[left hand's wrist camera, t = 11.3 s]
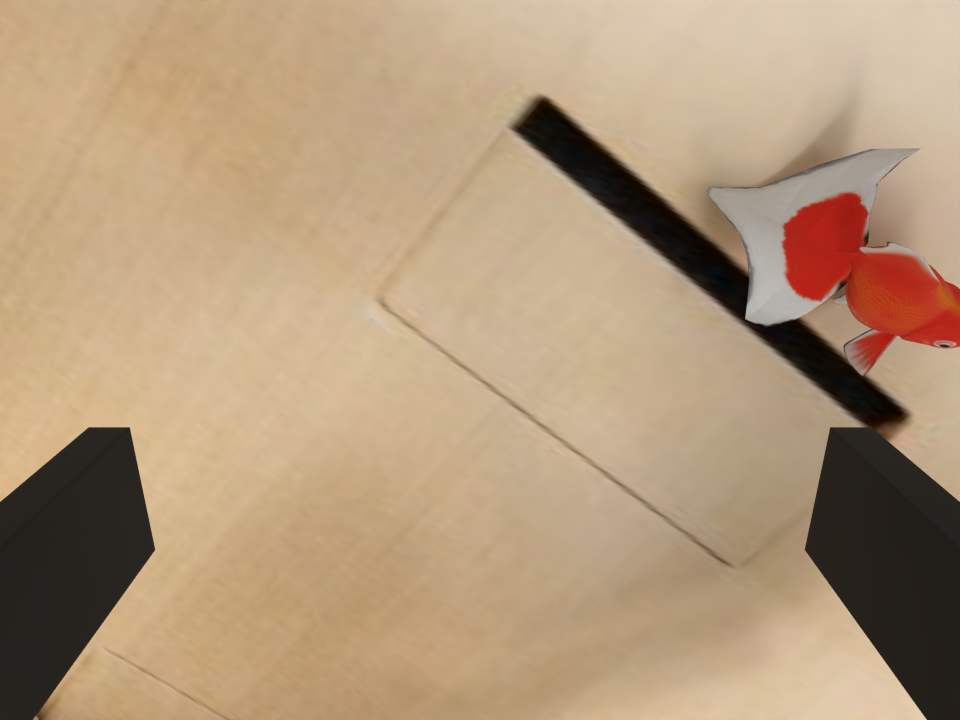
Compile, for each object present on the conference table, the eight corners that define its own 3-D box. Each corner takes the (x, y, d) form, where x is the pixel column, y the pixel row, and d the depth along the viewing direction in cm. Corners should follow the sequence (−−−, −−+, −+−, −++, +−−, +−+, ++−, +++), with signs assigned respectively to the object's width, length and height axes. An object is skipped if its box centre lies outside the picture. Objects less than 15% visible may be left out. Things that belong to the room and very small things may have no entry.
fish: (832, 447, 40) (934, 433, 30) (643, 262, 43) (680, 193, 33) (957, 327, 41) (1096, 275, 31) (764, 152, 44) (836, 55, 34)
